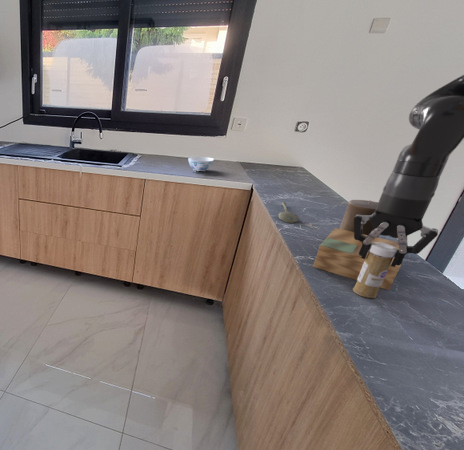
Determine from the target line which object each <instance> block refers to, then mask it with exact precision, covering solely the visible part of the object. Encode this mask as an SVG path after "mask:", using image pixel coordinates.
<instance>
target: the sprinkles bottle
mask: <svg viewBox="0 0 464 450" xmlns="http://www.w3.org/2000/svg"><path fill="white" fill-rule="evenodd" d="M397 251H398V250H397V248H396V247H394V246H392V245H389V244H385V243H377V242H376V243H372V244H371V246H370V248H369V253H368V255H367V257H366V260H365V262H364V264H363V266H362V269H361V271H360V274H359V276H358V278H357V280H356V283H355V285H354V287H353V288H352V291H353V292H354V293H355V294H357V295H358V296H360V297H363V298H367V299H376V298H377V296H378V292H379V290H380V289H381V288H380V286H381V285H382V283H383V280H384V278H385V276H386V274H387V270H388V268H389V266H390V264H391V261H392V259H393V258H394V257H395V255H396V253H397Z"/></svg>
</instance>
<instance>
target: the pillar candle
mask: <svg viewBox="0 0 464 450" xmlns="http://www.w3.org/2000/svg"><path fill="white" fill-rule="evenodd" d="M378 202H379V201H374V200H365V199H350V200H349V201H348V203H347V207H346V209H345V212H344V215H343V217H342V220H341V223H340V225H339V228H338V229H342V230H347V231H351V232H354V218H355V216H356V215H357V214H361V215H371V214H372V213H374V212H375V210H376V207H377V205H378ZM373 230H374V227H373V225H372V223H371V222H370V220H367V222H366V223H365V224H363V234H364V235H369V234H370V233H371V232H372V231H373ZM379 236H380V235H378V236H377V238H380V237H379Z"/></svg>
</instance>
